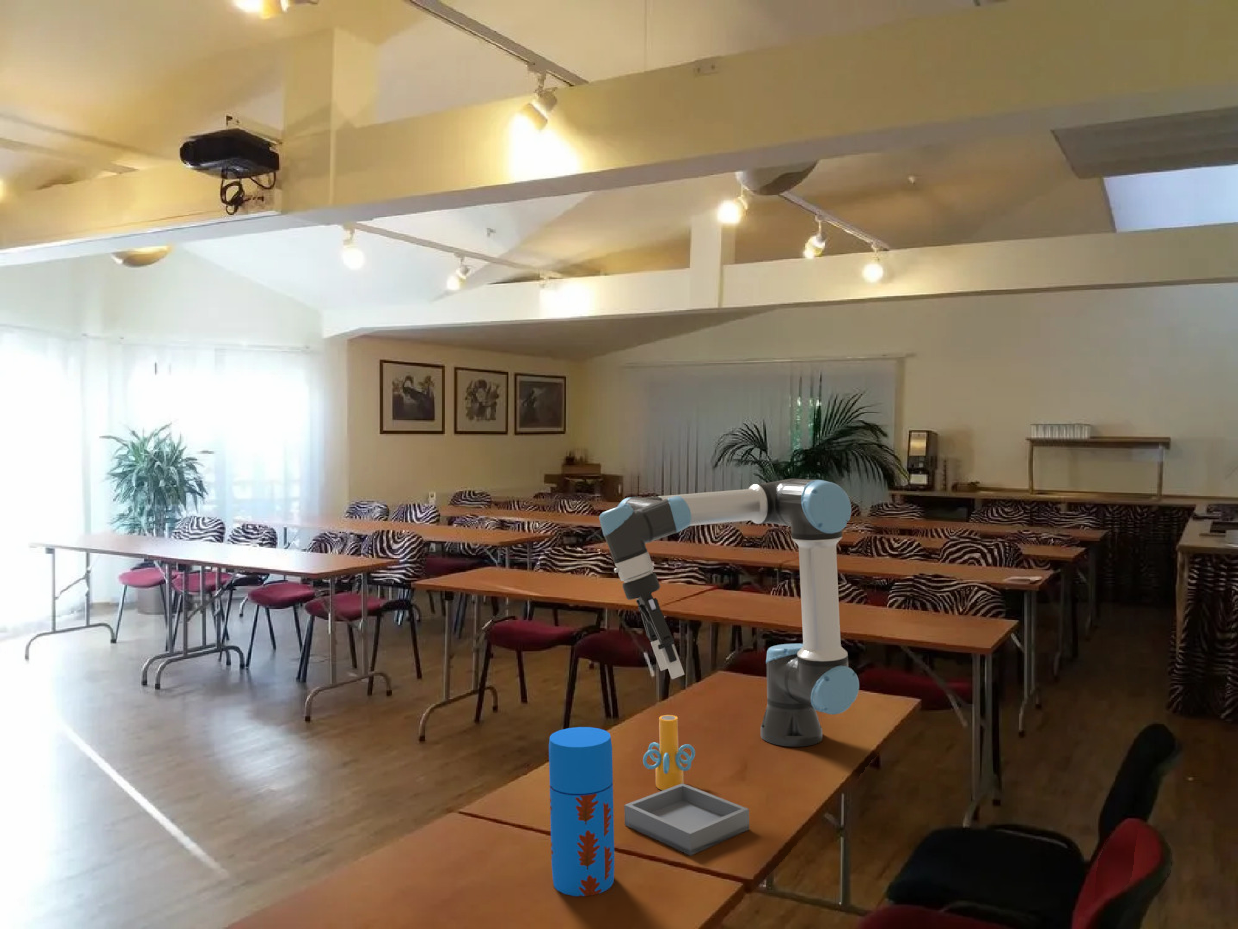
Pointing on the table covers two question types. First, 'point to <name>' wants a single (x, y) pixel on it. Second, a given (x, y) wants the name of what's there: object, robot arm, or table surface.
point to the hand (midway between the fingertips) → (672, 672)
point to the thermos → (581, 810)
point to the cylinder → (668, 754)
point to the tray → (686, 818)
